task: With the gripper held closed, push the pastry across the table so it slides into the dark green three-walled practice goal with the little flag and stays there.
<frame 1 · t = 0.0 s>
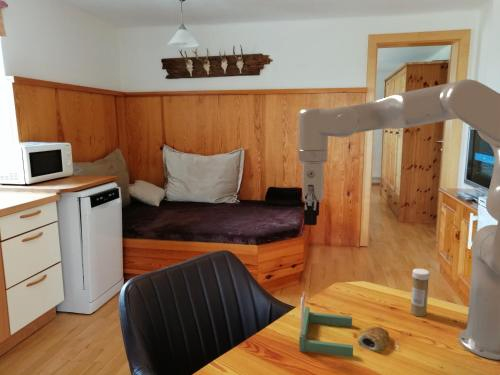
hand: (311, 219, 105), 31 cm above the table, tool pointing down, fingers open, 9 cm apart
sprinkles bottle: (418, 313, 117), on the table
pastry: (373, 343, 102), on the table
practice goal: (329, 337, 105), on the table
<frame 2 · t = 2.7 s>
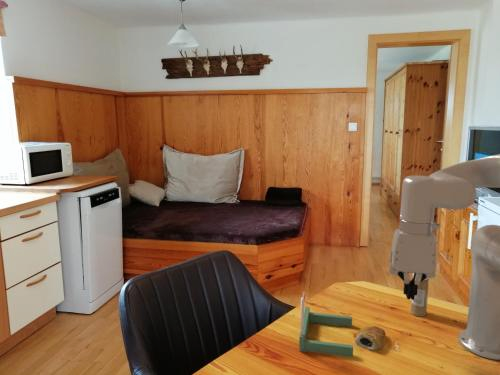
hand: (409, 297, 98), 14 cm above the table, tool pointing down, fingers closed
nothing on the table moved.
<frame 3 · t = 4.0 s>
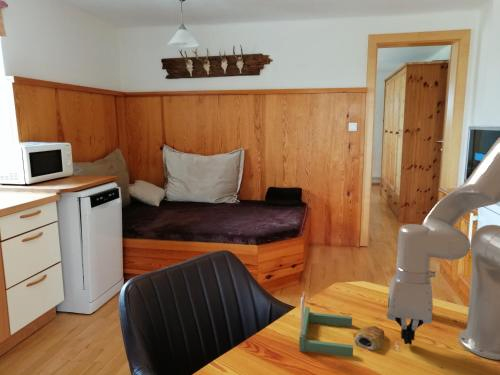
hand: (407, 341, 100), 1 cm above the table, tool pointing down, fingers closed
nothing on the table moved.
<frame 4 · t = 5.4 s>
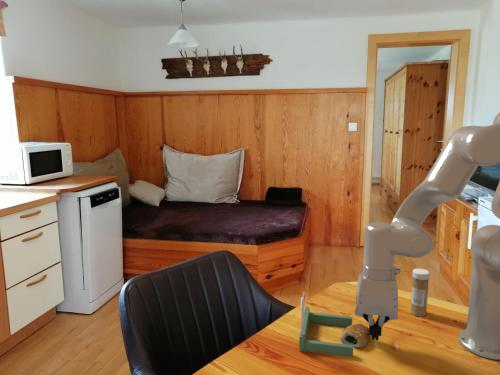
hand: (374, 337, 102), 1 cm above the table, tool pointing down, fingers closed
pastry: (355, 340, 104), on the table, touching gripper
everything else where it was.
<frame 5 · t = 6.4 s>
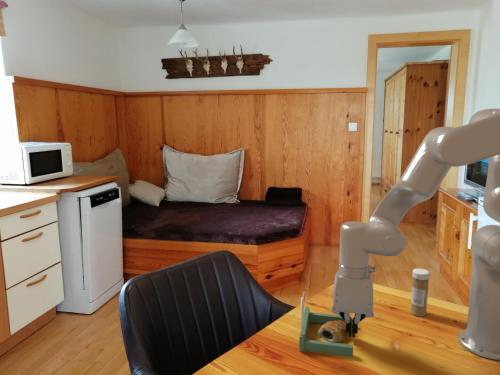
hand: (351, 334, 103), 1 cm above the table, tool pointing down, fingers closed
pastry: (333, 336, 106), on the table, touching gripper
everything else where it was.
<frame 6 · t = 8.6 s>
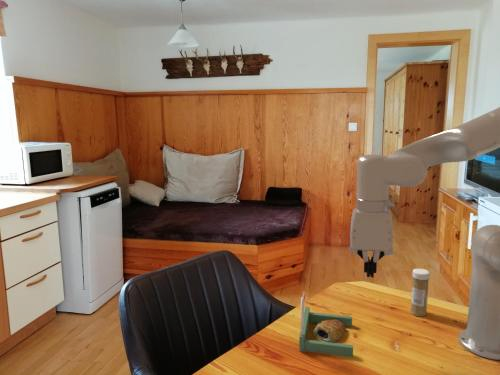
hand: (369, 275, 99), 19 cm above the table, tool pointing down, fingers closed
pastry: (329, 335, 106), on the table
everything else where it was.
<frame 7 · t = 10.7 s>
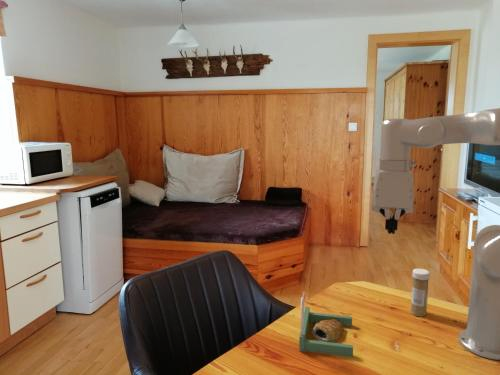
hand: (390, 232, 106), 27 cm above the table, tool pointing down, fingers closed
nothing on the table moved.
at the end: pastry 1.7 cm off-centre on the practice goal, point -0.5 cm above the practice goal's base; pastry tilted 1° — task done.
